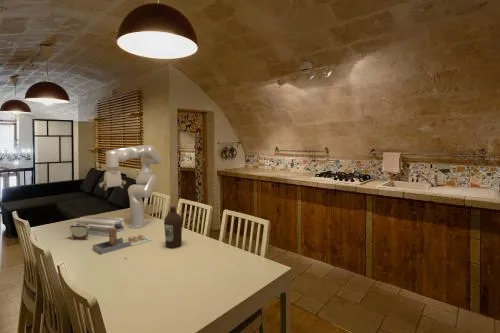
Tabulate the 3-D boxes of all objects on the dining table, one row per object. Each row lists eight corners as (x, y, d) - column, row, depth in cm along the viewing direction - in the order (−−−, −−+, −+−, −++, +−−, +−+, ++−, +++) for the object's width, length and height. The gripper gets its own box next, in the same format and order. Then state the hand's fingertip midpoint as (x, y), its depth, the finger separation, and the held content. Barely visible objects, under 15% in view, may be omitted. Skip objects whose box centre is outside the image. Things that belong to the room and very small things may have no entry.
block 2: (140, 239, 182) (140, 233, 182) (143, 240, 180) (143, 234, 179) (134, 241, 179) (134, 234, 179) (137, 242, 177) (137, 236, 176)
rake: (113, 245, 170) (112, 226, 170) (118, 248, 166) (118, 229, 165) (107, 246, 168) (107, 227, 167) (113, 249, 163) (112, 230, 162)
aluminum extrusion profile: (110, 237, 189) (109, 222, 188) (73, 233, 197) (72, 219, 196) (124, 230, 203) (124, 217, 202) (89, 227, 211) (89, 214, 210)
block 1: (134, 241, 179) (134, 235, 179) (137, 242, 177) (137, 236, 176) (128, 242, 176) (128, 236, 176) (131, 244, 174) (131, 238, 173)
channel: (121, 243, 177) (121, 237, 176) (130, 247, 169) (130, 241, 169) (92, 251, 164) (92, 244, 164) (101, 256, 157) (100, 249, 156)
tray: (140, 237, 187) (140, 234, 187) (151, 242, 178) (151, 239, 178) (121, 242, 178) (120, 239, 177) (131, 248, 169) (131, 245, 168)
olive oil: (173, 241, 180) (172, 203, 178) (186, 244, 175) (185, 205, 173) (160, 246, 171) (159, 206, 169) (173, 250, 166) (172, 208, 164)
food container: (94, 237, 188) (93, 222, 187) (88, 240, 182) (87, 225, 181) (77, 236, 189) (76, 222, 188) (70, 239, 183) (69, 224, 182)
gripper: (122, 168, 195) (123, 192, 196) (96, 170, 182) (97, 196, 183) (128, 168, 190) (129, 194, 191) (101, 170, 177) (102, 197, 178)
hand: (113, 195), depth 187 cm, fingers open, 9 cm apart
